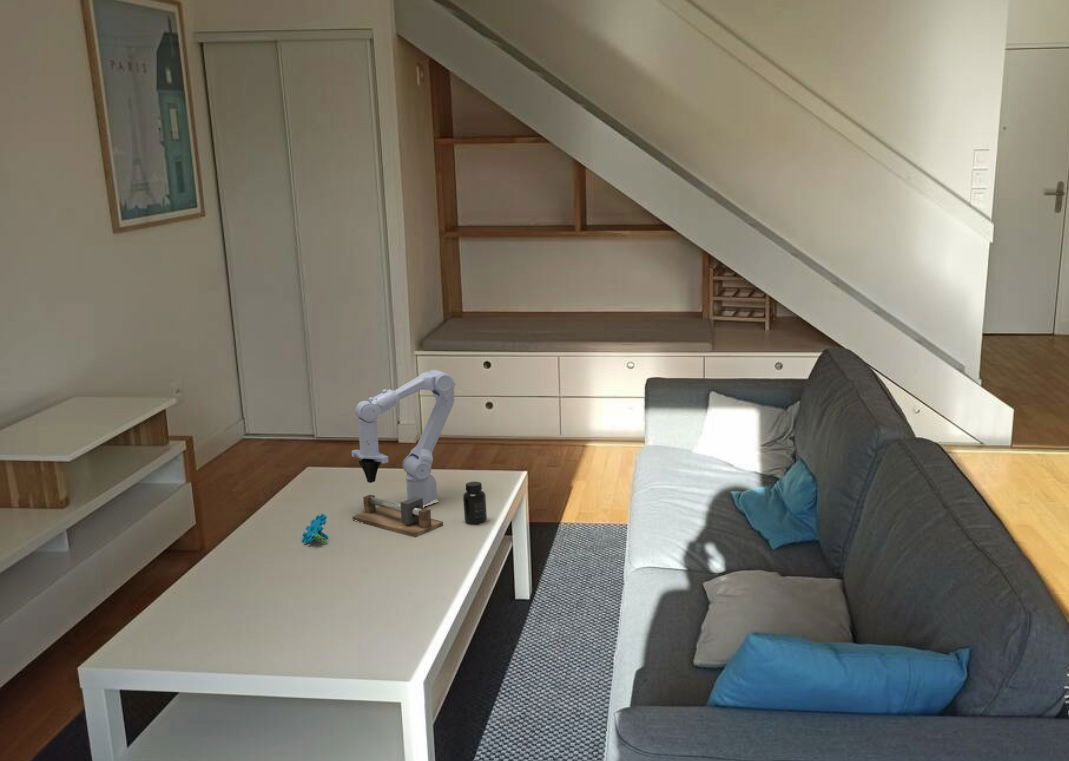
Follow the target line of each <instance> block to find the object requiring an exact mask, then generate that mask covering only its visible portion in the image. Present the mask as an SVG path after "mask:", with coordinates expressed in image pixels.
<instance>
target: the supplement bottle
mask: <svg viewBox="0 0 1069 761" xmlns="http://www.w3.org/2000/svg"><path fill="white" fill-rule="evenodd" d="M486 495H487V494H486V492H485V491H483V486H482V482H481V481H470V482H466V483H465V492H464V493H463V496H462V498H463V514H464V516H463V518H464V522H465V523H466V524H467V525H470V526H471V525H474V526H476V525H478V526H479V525H481V524H484V522H485V523H486V522H487V520H488V515H487V514H488V513H487V498H486Z"/></svg>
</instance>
